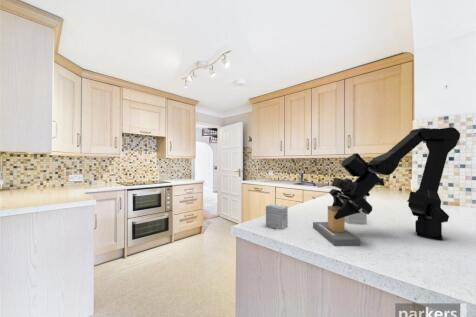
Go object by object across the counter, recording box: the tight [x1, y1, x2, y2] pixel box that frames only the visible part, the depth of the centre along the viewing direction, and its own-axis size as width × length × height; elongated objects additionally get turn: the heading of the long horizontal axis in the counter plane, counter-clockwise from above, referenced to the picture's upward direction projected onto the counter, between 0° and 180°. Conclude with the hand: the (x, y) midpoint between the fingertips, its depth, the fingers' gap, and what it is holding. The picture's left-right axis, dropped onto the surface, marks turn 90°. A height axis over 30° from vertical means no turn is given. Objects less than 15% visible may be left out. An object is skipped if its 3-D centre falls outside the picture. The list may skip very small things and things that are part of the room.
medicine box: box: [265, 204, 289, 231], centre depth 83 cm, size 8×4×9 cm, turn 47°
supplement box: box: [344, 196, 368, 225], centre depth 89 cm, size 7×7×13 cm
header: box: [312, 221, 361, 247], centre depth 73 cm, size 8×18×3 cm, turn 1°
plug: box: [327, 205, 345, 232], centre depth 73 cm, size 4×4×10 cm
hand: (331, 216), depth 73 cm, fingers closed on plug, 4 cm apart
